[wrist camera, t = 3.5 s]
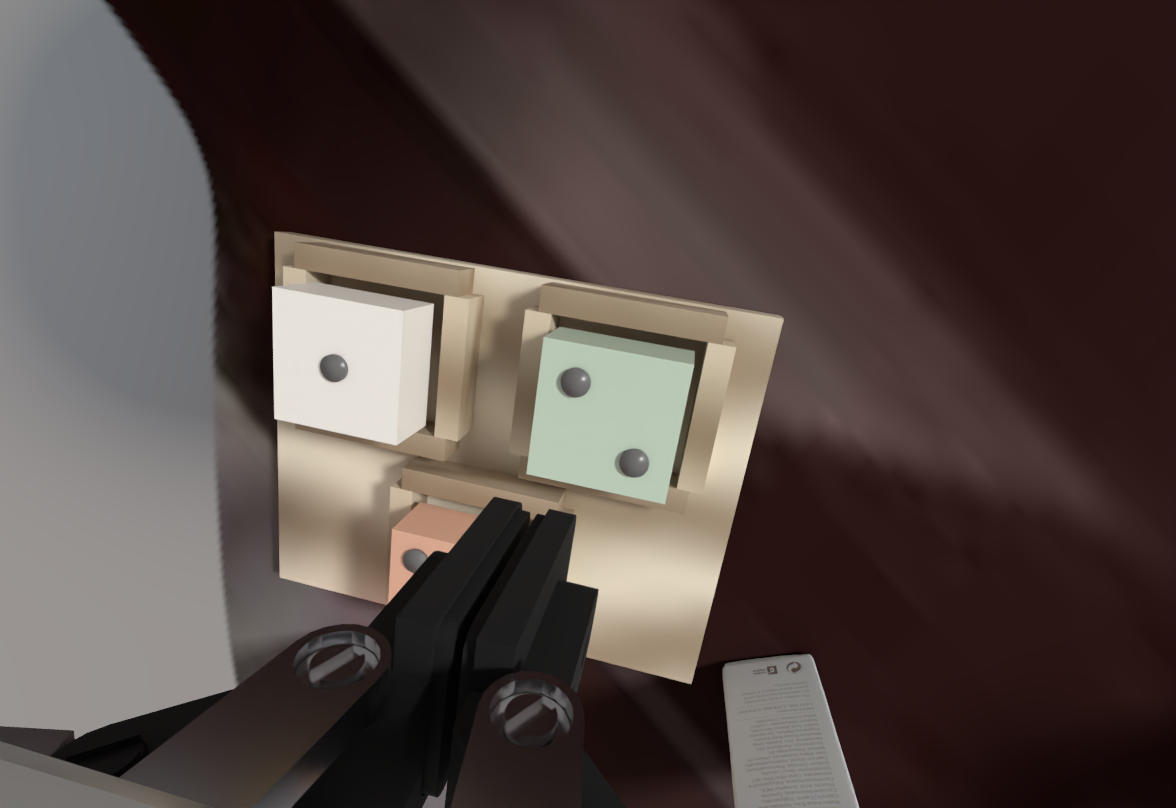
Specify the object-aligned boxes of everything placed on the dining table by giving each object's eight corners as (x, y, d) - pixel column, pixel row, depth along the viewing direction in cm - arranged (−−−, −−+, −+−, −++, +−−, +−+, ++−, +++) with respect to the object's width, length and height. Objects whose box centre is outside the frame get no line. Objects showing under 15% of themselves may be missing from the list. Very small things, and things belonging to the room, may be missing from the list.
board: (290, 232, 25) (245, 230, 22) (780, 315, 22) (790, 324, 20) (292, 566, 30) (256, 595, 27) (691, 668, 27) (691, 711, 25)
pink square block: (420, 502, 24) (389, 531, 22) (533, 528, 24) (514, 561, 21) (413, 600, 26) (384, 637, 23) (519, 628, 25) (500, 668, 23)
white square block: (315, 282, 22) (268, 287, 20) (434, 303, 22) (401, 311, 19) (314, 402, 24) (271, 420, 22) (425, 425, 23) (394, 447, 21)
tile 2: (560, 326, 21) (542, 337, 19) (694, 351, 20) (694, 365, 18) (543, 450, 23) (525, 475, 20) (668, 477, 22) (664, 506, 20)
